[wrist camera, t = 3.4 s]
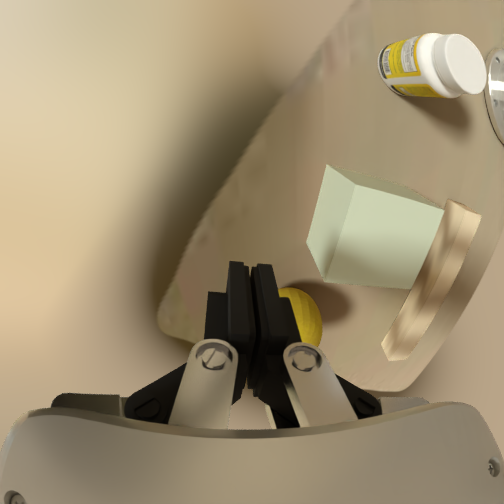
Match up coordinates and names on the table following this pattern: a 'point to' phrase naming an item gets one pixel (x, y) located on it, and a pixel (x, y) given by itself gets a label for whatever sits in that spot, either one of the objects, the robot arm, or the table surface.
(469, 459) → the robot arm
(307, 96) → the table surface
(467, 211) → the beige wavy bar
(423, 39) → the supplement bottle
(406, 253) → the block
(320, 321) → the lemon
